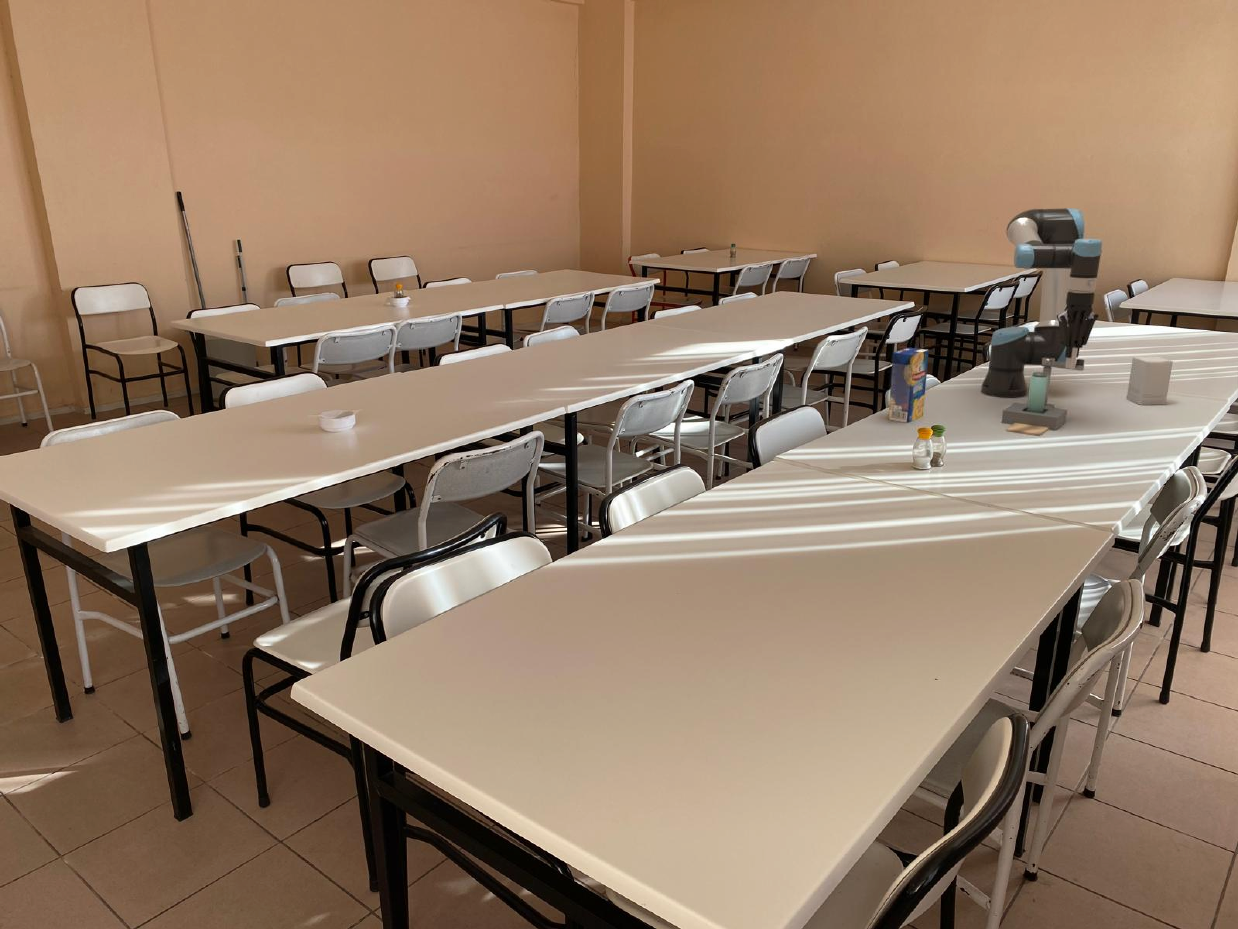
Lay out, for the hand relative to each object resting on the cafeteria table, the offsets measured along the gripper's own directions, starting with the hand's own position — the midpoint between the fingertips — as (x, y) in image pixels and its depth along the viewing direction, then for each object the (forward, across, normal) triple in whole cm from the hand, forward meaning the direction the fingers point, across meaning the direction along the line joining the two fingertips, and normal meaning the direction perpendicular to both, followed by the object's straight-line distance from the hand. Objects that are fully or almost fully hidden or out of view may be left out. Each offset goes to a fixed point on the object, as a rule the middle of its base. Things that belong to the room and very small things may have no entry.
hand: (1069, 367), depth 277 cm
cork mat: (+18, -16, -5) cm, 24 cm away
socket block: (+17, -7, +3) cm, 19 cm away
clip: (+1, 0, +4) cm, 4 cm away
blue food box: (+18, -44, +17) cm, 51 cm away
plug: (+18, -9, +2) cm, 20 cm away
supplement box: (+17, +43, +16) cm, 49 cm away
